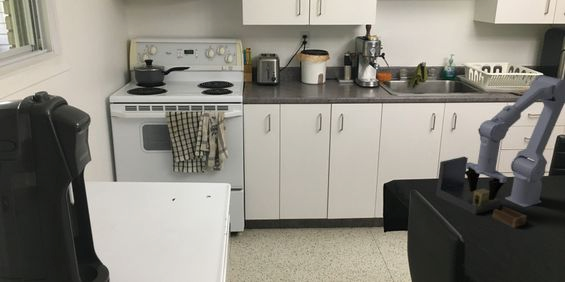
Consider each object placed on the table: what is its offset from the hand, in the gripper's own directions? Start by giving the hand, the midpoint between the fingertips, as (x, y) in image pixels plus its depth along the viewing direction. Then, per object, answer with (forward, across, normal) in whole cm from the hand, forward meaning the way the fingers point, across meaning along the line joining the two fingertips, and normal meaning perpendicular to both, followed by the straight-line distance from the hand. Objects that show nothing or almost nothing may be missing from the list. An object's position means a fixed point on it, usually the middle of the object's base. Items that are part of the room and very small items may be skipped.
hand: (481, 195), depth 163 cm
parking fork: (+5, +10, 0) cm, 11 cm away
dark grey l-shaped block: (+5, -6, 0) cm, 7 cm away
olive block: (+4, 0, 0) cm, 5 cm away
